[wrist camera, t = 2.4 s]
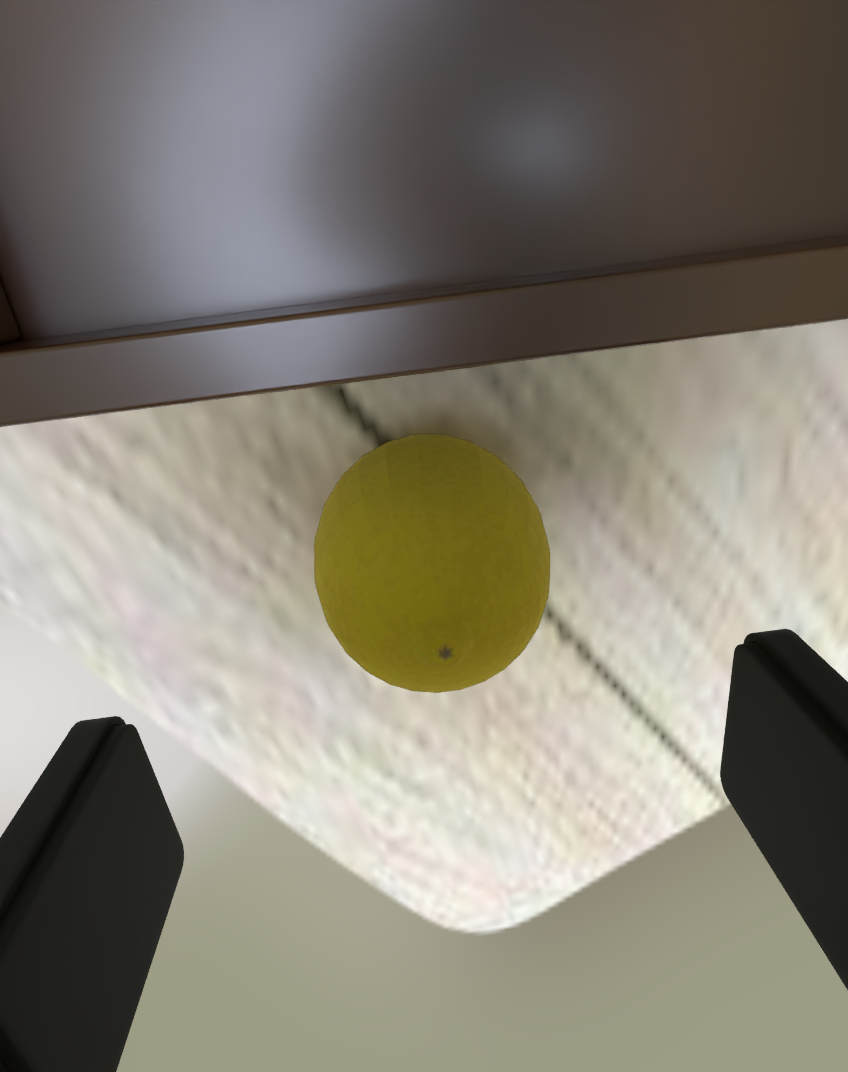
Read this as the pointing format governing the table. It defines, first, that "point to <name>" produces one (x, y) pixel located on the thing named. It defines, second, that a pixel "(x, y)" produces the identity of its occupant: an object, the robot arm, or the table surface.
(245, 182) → the shelf
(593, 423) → the table surface
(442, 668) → the lemon
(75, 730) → the robot arm
